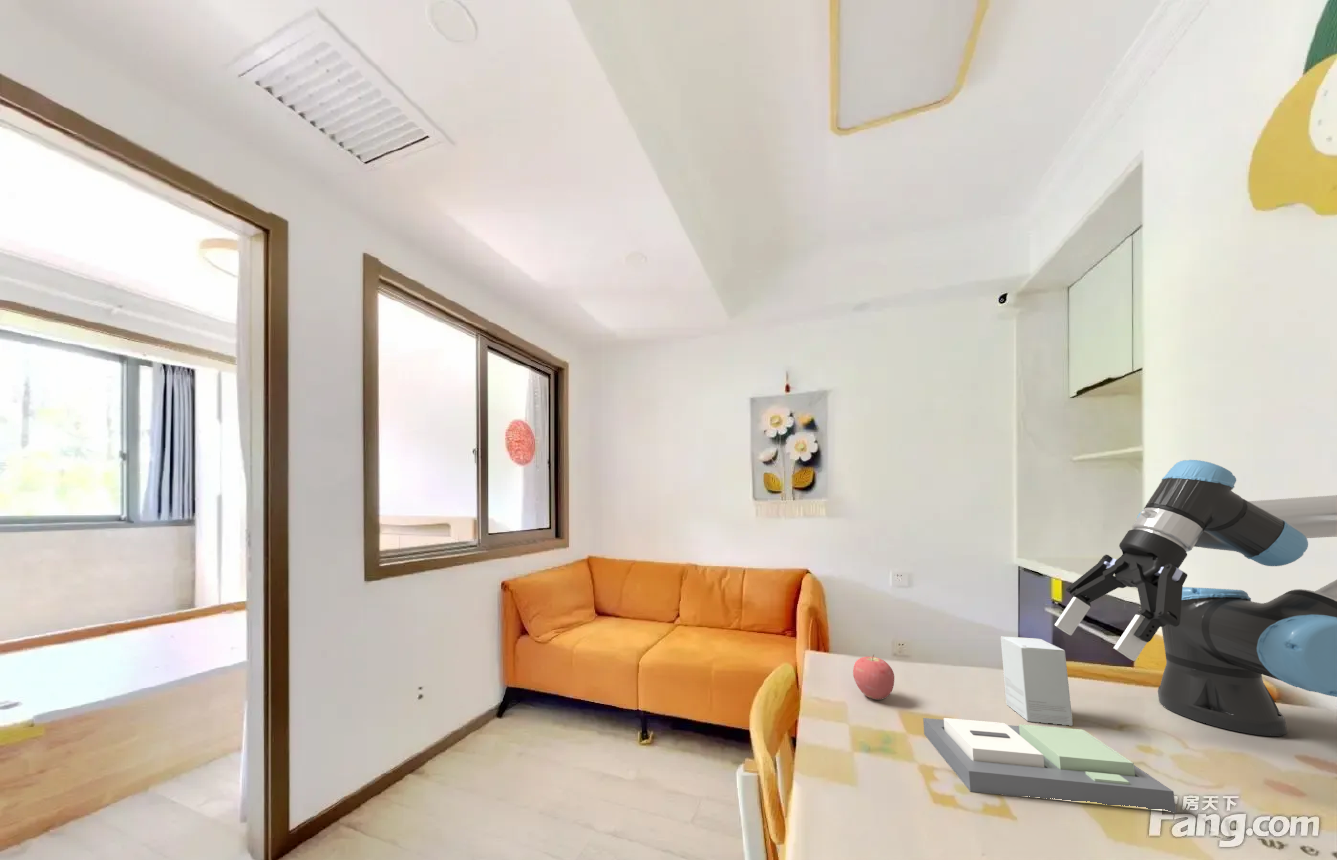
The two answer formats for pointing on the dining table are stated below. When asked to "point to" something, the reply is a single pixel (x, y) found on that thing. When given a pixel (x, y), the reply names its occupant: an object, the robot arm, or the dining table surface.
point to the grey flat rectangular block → (1032, 768)
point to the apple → (873, 677)
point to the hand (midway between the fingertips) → (1090, 641)
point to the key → (1076, 750)
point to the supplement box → (1036, 680)
